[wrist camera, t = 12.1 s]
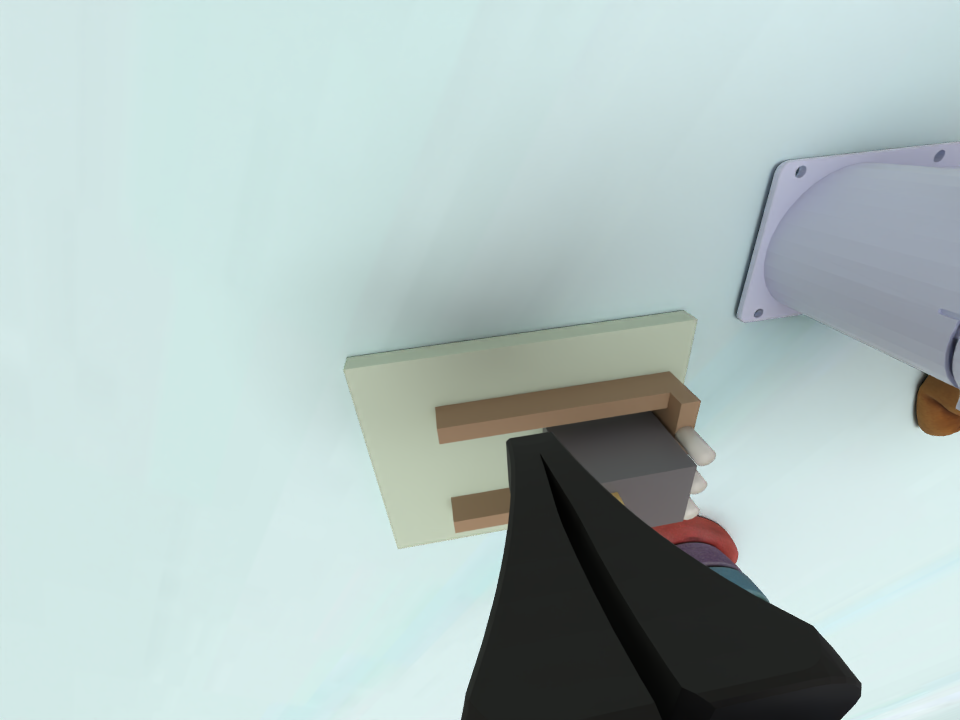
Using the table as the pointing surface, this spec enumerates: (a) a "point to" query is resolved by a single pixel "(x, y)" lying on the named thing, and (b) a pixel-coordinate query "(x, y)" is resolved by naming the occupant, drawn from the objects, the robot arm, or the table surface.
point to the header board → (509, 412)
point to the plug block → (634, 463)
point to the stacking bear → (709, 548)
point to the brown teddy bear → (938, 407)
